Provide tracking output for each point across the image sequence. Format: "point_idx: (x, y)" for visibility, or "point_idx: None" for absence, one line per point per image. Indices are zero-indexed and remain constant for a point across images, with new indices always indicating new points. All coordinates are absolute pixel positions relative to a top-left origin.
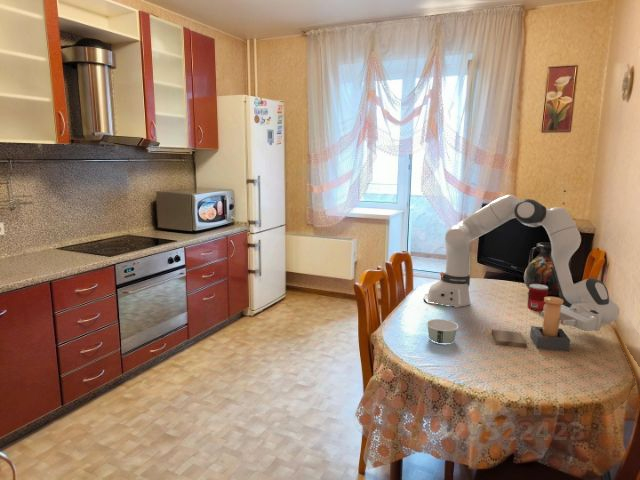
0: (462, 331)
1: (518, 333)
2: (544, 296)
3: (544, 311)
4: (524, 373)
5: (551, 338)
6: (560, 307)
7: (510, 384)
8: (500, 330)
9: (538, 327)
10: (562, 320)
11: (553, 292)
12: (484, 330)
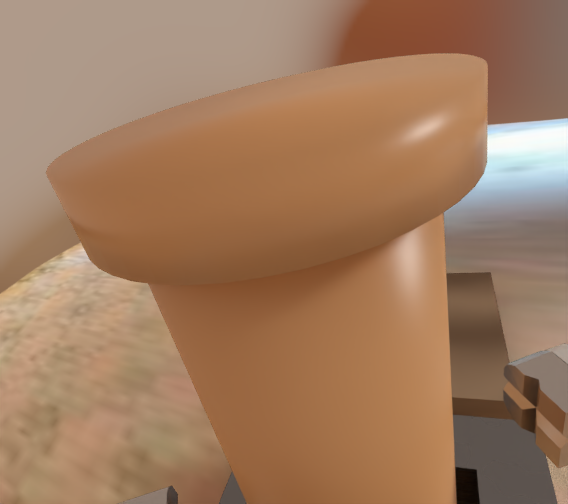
0: (461, 219)
1: (480, 380)
2: None
3: (555, 365)
4: (72, 336)
5: (222, 500)
6: (170, 323)
7: (47, 297)
8: (496, 302)
9: (525, 484)
10: (140, 496)
11: None
12: (521, 271)
